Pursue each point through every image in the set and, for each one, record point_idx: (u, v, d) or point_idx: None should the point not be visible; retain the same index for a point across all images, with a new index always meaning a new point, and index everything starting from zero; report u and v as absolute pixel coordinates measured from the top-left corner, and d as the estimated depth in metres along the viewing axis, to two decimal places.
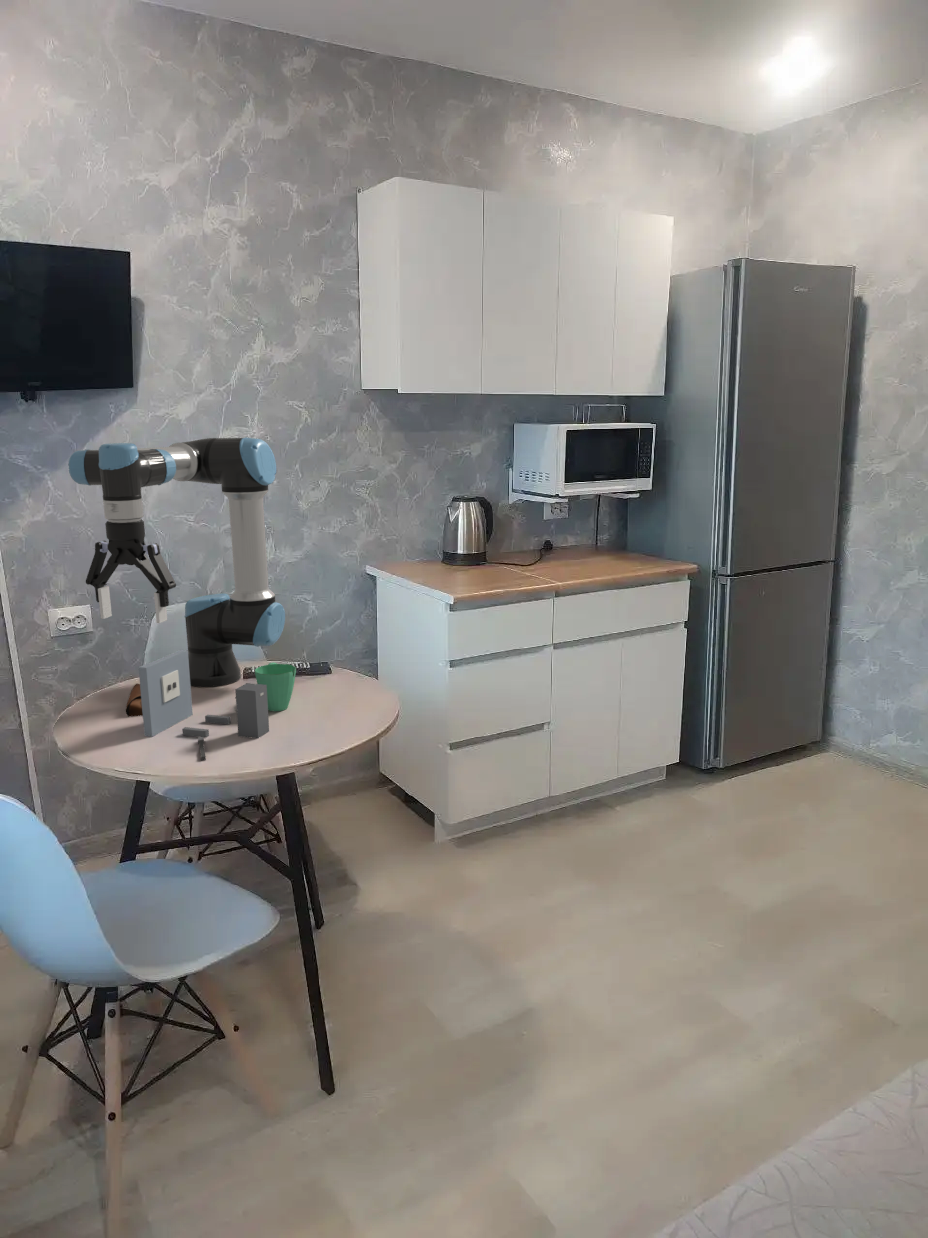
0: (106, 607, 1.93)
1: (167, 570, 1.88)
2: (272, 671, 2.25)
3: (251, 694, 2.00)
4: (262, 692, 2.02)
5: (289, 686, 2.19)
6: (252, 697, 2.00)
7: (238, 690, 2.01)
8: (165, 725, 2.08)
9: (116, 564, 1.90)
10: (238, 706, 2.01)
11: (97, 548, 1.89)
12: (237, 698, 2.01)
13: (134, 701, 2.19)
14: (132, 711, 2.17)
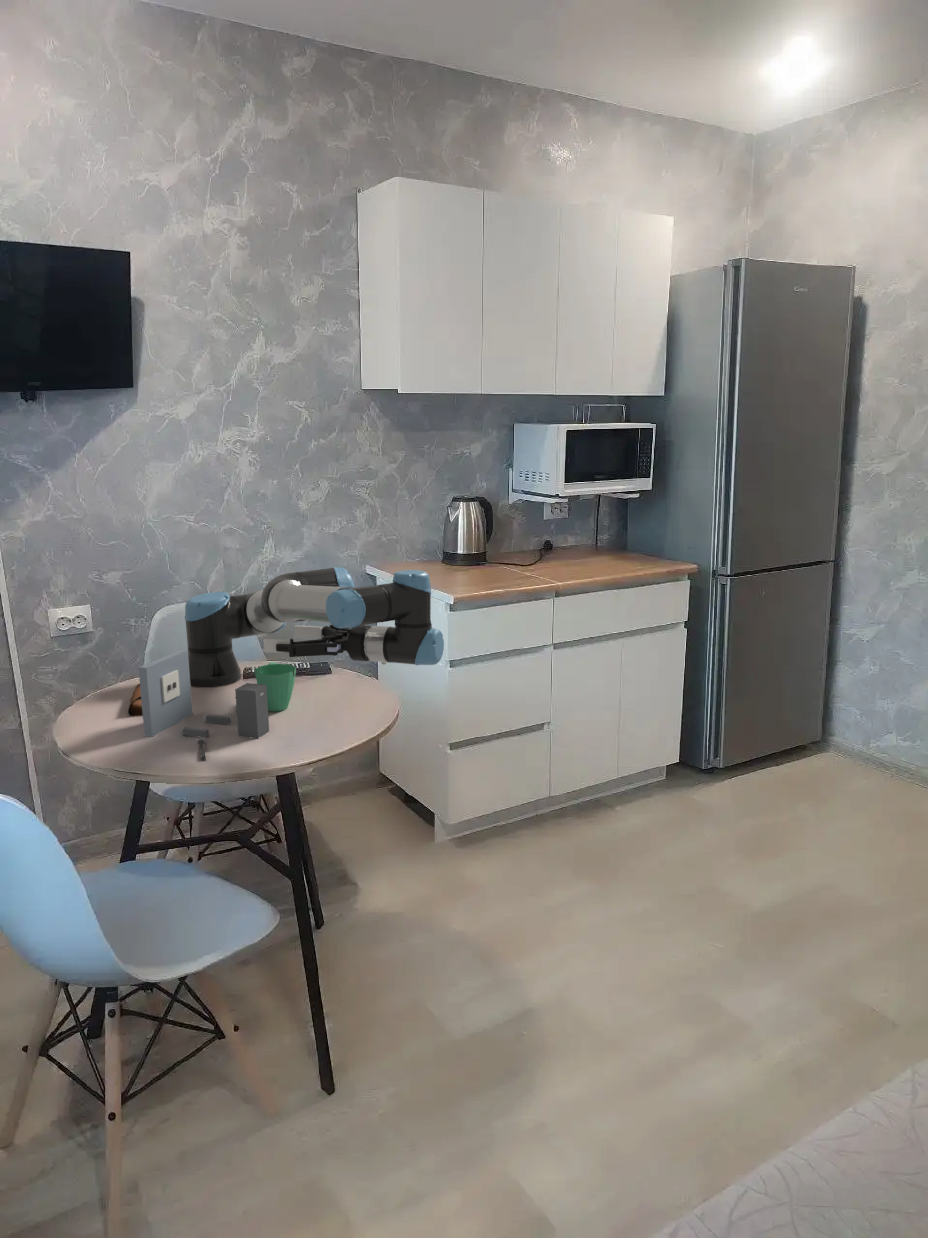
0: None
1: None
2: (272, 671, 2.25)
3: (251, 694, 2.00)
4: (262, 692, 2.02)
5: (289, 686, 2.19)
6: (252, 697, 2.00)
7: (238, 690, 2.01)
8: (165, 725, 2.08)
9: None
10: (238, 706, 2.01)
11: (331, 654, 1.87)
12: (237, 698, 2.01)
13: (137, 701, 2.19)
14: (135, 711, 2.17)
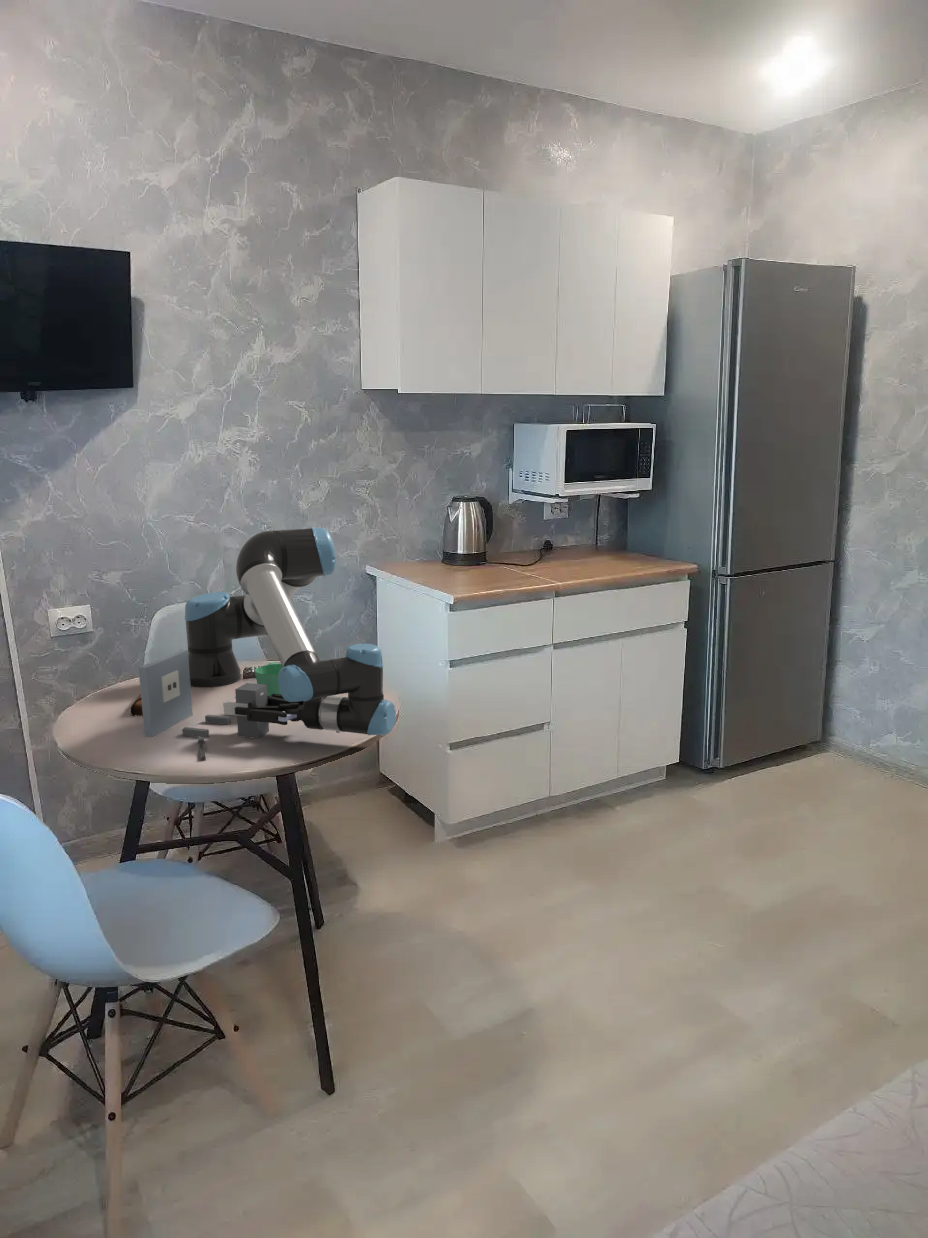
0: None
1: None
2: (272, 671, 2.25)
3: (251, 694, 2.00)
4: (262, 692, 2.02)
5: None
6: (252, 697, 2.00)
7: (238, 690, 2.01)
8: (165, 725, 2.08)
9: None
10: None
11: None
12: (237, 698, 2.01)
13: (140, 701, 2.19)
14: (137, 710, 2.18)
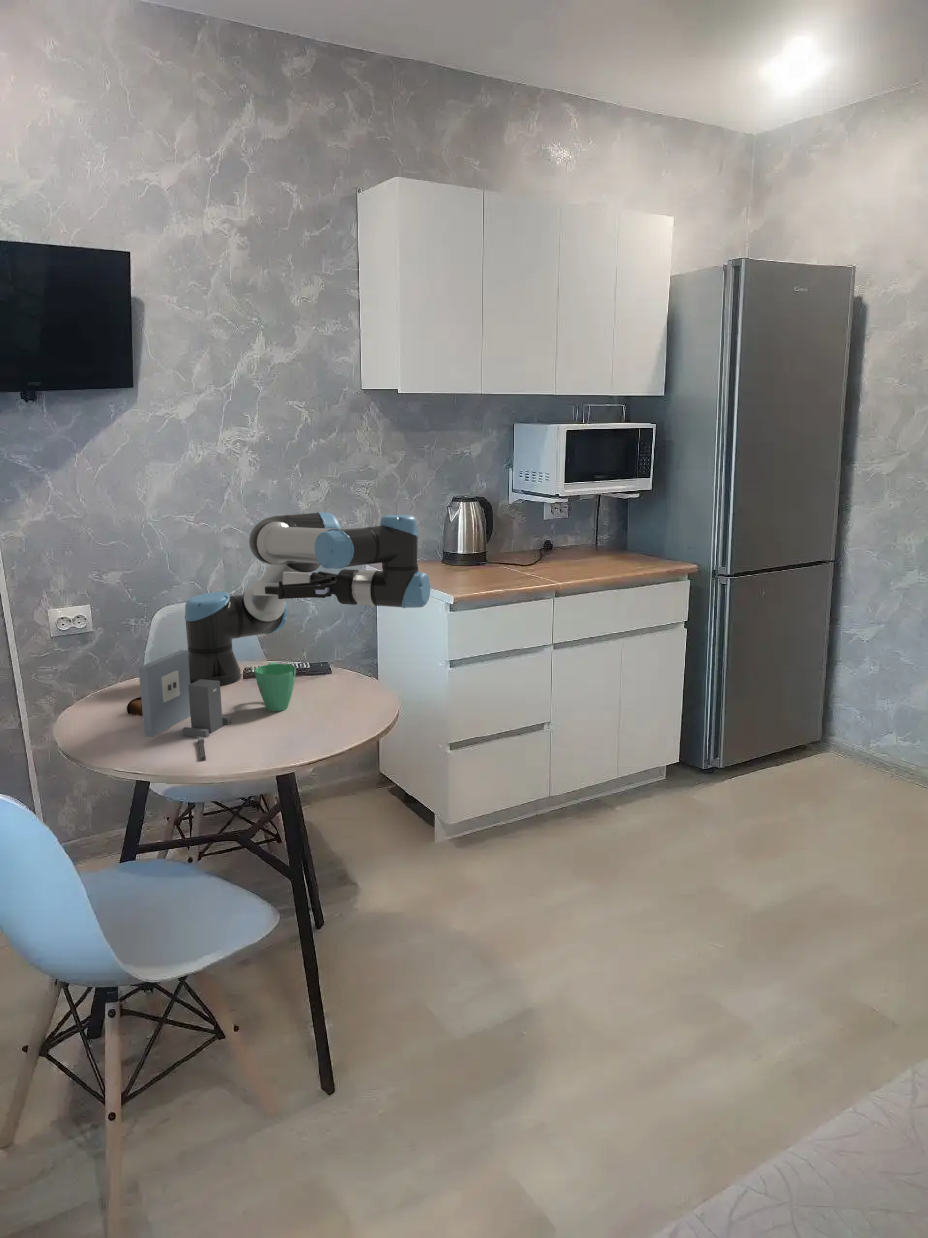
0: None
1: None
2: (272, 671, 2.25)
3: (203, 690, 2.03)
4: (215, 688, 2.06)
5: (289, 686, 2.19)
6: (205, 693, 2.03)
7: (191, 686, 2.04)
8: (165, 725, 2.08)
9: None
10: (191, 702, 2.05)
11: None
12: (190, 694, 2.04)
13: (138, 700, 2.19)
14: (132, 709, 2.18)
